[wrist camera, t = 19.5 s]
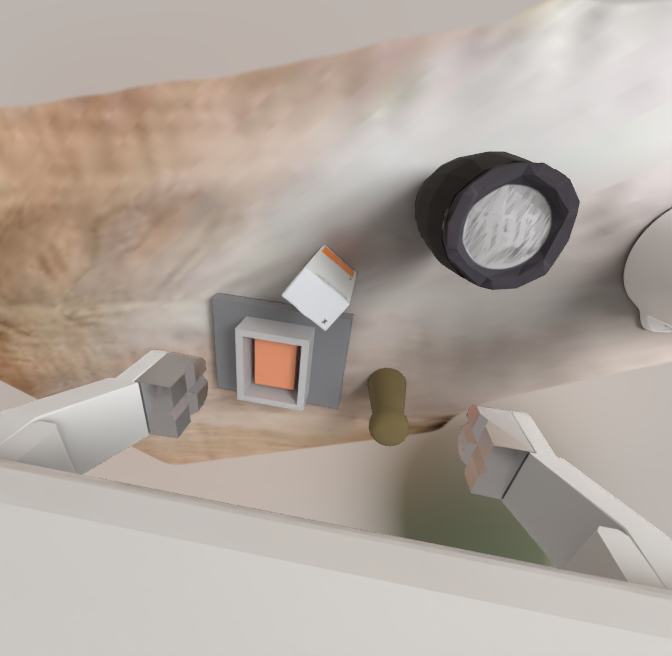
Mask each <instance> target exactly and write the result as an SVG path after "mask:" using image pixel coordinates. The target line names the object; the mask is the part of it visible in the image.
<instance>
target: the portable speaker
mask: <svg viewBox="0 0 672 656" xmlns="http://www.w3.org/2000/svg"><path fill="white" fill-rule="evenodd" d="M579 202H580V201H579V199H578V197H577V194H576V192H575V190H574V187H573V185H572V183H571V181H570V179H569V178H567V177H566V176H565V175H564V174H562V173H561V172H559V171H558V170H556V169H555V170H554V169H553V168H551V167H550V166H548V165H547V164H545V163H541V162H540V163H533V162H531V161H528V160H526V159H523V158H521V157H518V156H515V155H512V154H509V153H506V152H484V153H479V154H474V155H469V156H464V157H459V158H456V159H454V160H452V161H450V162H448V163H445V164H443V165H441V166H440V167H439V168H438V169H437V170H436V171H435V172H434V173H433V174H432V175H431V176H430V177H429V178H427V179H426V180H425V182H424V183H423V185H422V187H421V189H420V191H419V193H418V194H417V197H416V201H415V218H416V221H417V225H418V229H419V231H420V233H421V236H422V238H423V239H424V241H425V242H426V244H427V246H428V247H429V249H430V250H431V251H432V253H433V254H434V256H435V257H436V259H437V260H438V261H439V262H440V263H441V264H442V265H444V266H445V267H447V268H448V269H450V270H452V271H453V272H455V273H456V274H458V275H459V276H461V277H462V278H465V279H467V280H468V281H469V282H471V283H474V284H476V285H478V286H480V287H483V288H487V289H491V290H497V289H513V288H518V287H520V286H522V285H524V284H526V283H529V282H531V281H533V280H535V279H537V278H539V277H541V276H544V275H545V274H546V273H547V272H548V270H549V269H550V268H551V266H552V265H553V263H554V262H555V260H556V259H557V257H558V256H559V254H560V253H561V251H562V250H563V248H564V247H565V245H566V244H567V242H568V240H569V237H570V234H571V231H572V228H573V225H574V222H575V219H576V216H577V213H578V207H579Z"/></svg>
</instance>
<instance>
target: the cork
mask: <svg viewBox="0 0 672 656" xmlns="http://www.w3.org/2000/svg"><path fill="white" fill-rule="evenodd" d="M368 389H369V395H370V401H371V407H372V413H373V414H372V416H371V418H370V420H369V430H370V433H371V436H372V437H373V438H374V440H375V441H377V442H378V443H379V444H382V445H385V446H395V445H398V444H400V443H401V442H403V441H404V440H405V439H406V437H407V435H408V431H409V424H408V420H407V418H406V416H405V415H404V406H405V394H406V380H405V377H404V376H403V375H402V374H401V373H400V372H399V371H397V370H394V369H391V368H383V369H379V370H377V371H375V372H373V373H372V374H371V375H370V377H369V379H368Z"/></svg>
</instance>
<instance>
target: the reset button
mask: <svg viewBox="0 0 672 656" xmlns="http://www.w3.org/2000/svg"><path fill="white" fill-rule="evenodd" d="M299 347H300V346H297V345H291V344H285V343H279V342H273V341H267V340H261V339H255V383H256V384H262V385H267V386H273V387H279V388H285V389H290V390H294V388H295V385H296V383H297V373H298V360H299Z"/></svg>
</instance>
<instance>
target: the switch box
mask: <svg viewBox="0 0 672 656" xmlns="http://www.w3.org/2000/svg"><path fill="white" fill-rule="evenodd" d="M212 307H213V322H214V336H215V351H216V366H217V381H218V388H221V389H227V390H232V391H237V400H243V401H249V402H254V403H260V404H266V405H271V406H277V407H282V408H288V409H294V410H299V411H303V410H304V407H305V403H306V404H312V405H317V406H323V407H329V408H334V409H338V406H339V400H340V394H341V387H342V381H343V375H344V369H345V362H346V356H347V350H348V344H349V337H350V331H351V325H352V319H353V314H347V313H342V314H341V315H340V316H339V317H338V318H337V319H336V320H335V321H334V323H333V324H332V325H331V326H330V327H329V328H328V329H327V330H326V331H324V330H323V329H322V328H321V327H319V326H318V325H317V324H316V323H314V322H313V321H312V320H310V319H309V318H308V317H306V316H305V315H303V314H302V313H301V312H300V311H299V310H298V309H297V308H296V307H294V306H293V305H291V304H285V303H278V302H272V301H266V300H260V299H253V298H247V297H241V296H235V295H228V294H222V293H218V294H216V295H215V296H214V297H212ZM255 339H261V340H267V341H273V342H279V343H285V344H291V345H297V346H300V347H299V360H298V373H297V383H296V385H295V388H294V390H290V389H285V388H279V387H273V386H267V385H262V384H256V383H255Z"/></svg>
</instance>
